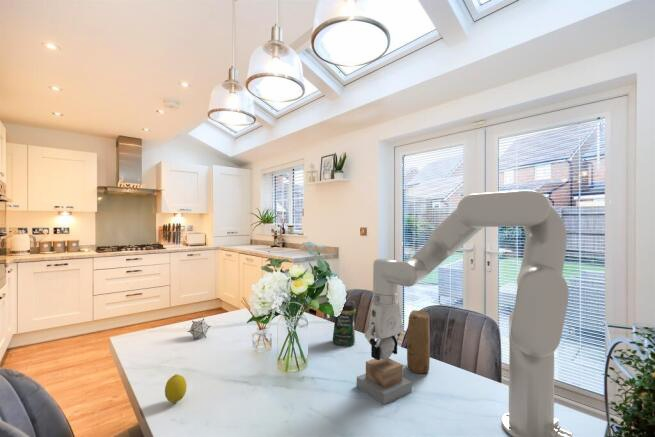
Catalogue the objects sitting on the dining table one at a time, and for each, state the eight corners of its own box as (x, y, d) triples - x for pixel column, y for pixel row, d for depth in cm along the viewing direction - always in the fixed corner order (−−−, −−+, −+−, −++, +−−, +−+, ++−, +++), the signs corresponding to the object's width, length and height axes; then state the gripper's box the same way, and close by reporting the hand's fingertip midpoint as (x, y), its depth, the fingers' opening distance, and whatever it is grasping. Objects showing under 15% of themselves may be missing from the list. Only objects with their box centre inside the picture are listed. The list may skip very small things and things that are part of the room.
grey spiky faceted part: (194, 347, 136) (179, 330, 134) (206, 334, 143) (192, 317, 142) (206, 341, 132) (191, 323, 131) (218, 327, 140) (204, 310, 138)
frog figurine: (399, 358, 97) (399, 336, 97) (384, 364, 92) (384, 341, 93) (384, 352, 102) (384, 330, 102) (369, 358, 97) (369, 335, 97)
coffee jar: (331, 345, 131) (331, 301, 131) (334, 338, 139) (335, 297, 139) (353, 347, 129) (354, 302, 129) (356, 340, 136) (356, 298, 137)
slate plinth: (411, 391, 96) (411, 382, 96) (384, 404, 88) (384, 394, 89) (383, 375, 105) (383, 367, 105) (356, 386, 98) (356, 376, 98)
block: (428, 376, 105) (428, 317, 105) (405, 372, 108) (406, 314, 108) (431, 363, 115) (431, 309, 115) (410, 359, 118) (411, 307, 118)
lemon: (180, 395, 92) (181, 368, 92) (189, 402, 88) (190, 374, 88) (161, 403, 87) (161, 374, 88) (169, 411, 84) (170, 381, 84)
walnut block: (402, 381, 96) (402, 364, 96) (384, 388, 91) (384, 371, 91) (383, 370, 102) (383, 355, 103) (365, 377, 98) (365, 361, 98)
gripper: (373, 305, 89) (372, 367, 89) (412, 297, 99) (412, 353, 99) (356, 299, 95) (355, 358, 95) (394, 292, 105) (394, 345, 105)
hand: (384, 355), depth 97 cm, fingers closed on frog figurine, 6 cm apart
